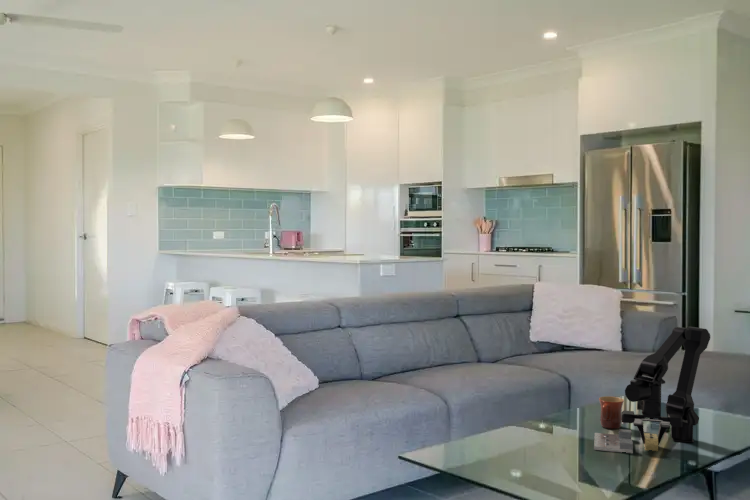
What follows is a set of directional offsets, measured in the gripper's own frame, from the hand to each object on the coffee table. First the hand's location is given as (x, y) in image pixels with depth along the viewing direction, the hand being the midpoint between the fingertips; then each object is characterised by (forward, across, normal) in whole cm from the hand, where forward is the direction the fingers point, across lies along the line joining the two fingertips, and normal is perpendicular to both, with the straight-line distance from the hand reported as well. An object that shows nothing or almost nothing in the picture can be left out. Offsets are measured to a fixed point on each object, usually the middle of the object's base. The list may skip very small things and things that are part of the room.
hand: (650, 444), depth 244 cm
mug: (+1, +13, -20) cm, 24 cm away
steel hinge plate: (+1, +12, 0) cm, 12 cm away
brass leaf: (+1, 0, 0) cm, 1 cm away
